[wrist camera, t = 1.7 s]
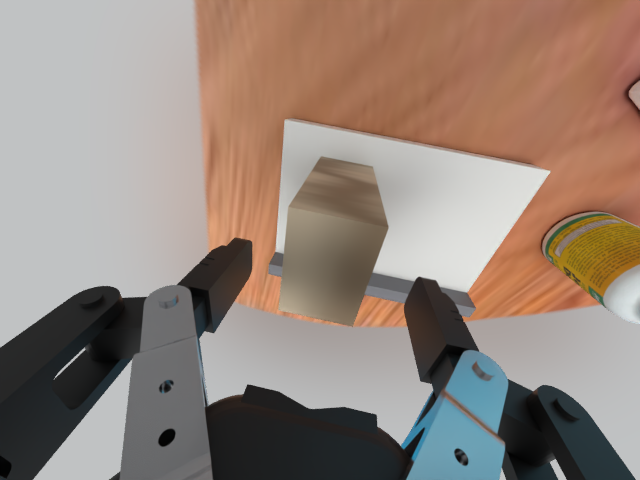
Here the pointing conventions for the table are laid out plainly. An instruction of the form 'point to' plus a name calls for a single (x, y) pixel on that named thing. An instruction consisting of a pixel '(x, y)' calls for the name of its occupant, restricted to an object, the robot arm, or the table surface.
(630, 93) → the pepper shaker
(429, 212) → the shelf
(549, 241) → the supplement bottle
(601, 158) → the table surface
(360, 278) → the tea box
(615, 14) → the table surface
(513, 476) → the robot arm
